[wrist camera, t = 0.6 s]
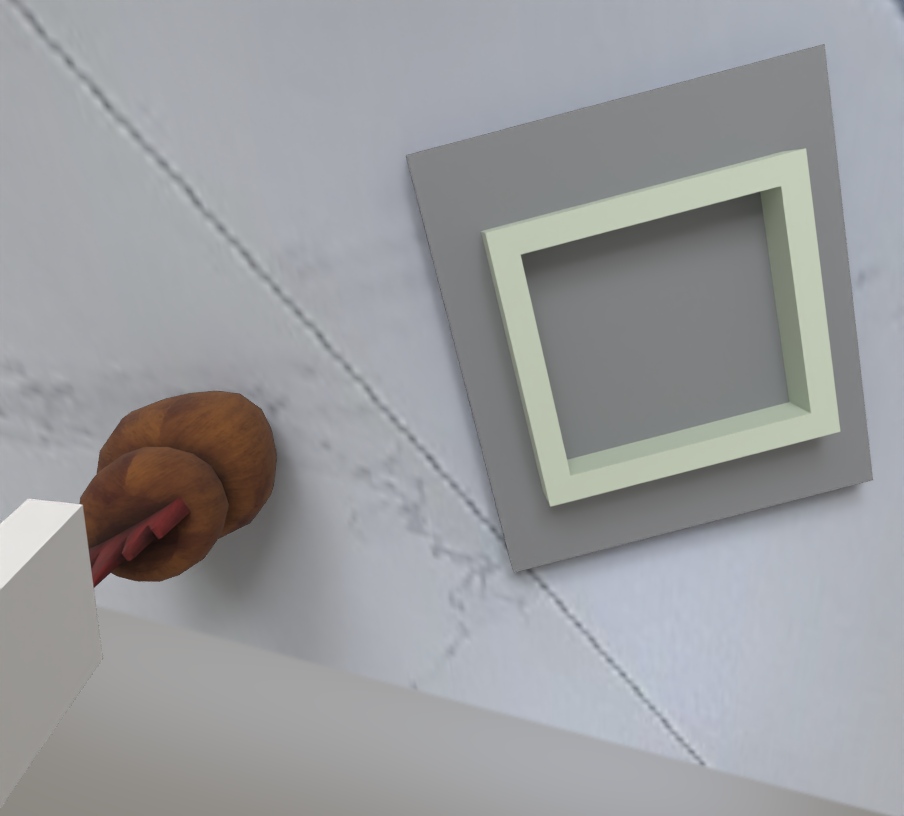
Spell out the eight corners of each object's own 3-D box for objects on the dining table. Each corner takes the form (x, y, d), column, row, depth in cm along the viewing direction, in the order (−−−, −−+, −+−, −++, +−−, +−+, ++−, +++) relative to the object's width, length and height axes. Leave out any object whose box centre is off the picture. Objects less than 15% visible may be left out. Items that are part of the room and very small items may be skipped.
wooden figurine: (161, 503, 37) (3, 697, 22) (131, 389, 35) (-61, 518, 21) (300, 481, 37) (230, 660, 23) (275, 366, 36) (184, 479, 21)
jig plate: (406, 157, 33) (406, 152, 30) (806, 51, 33) (851, 34, 30) (509, 558, 39) (519, 592, 35) (855, 469, 38) (898, 495, 35)
